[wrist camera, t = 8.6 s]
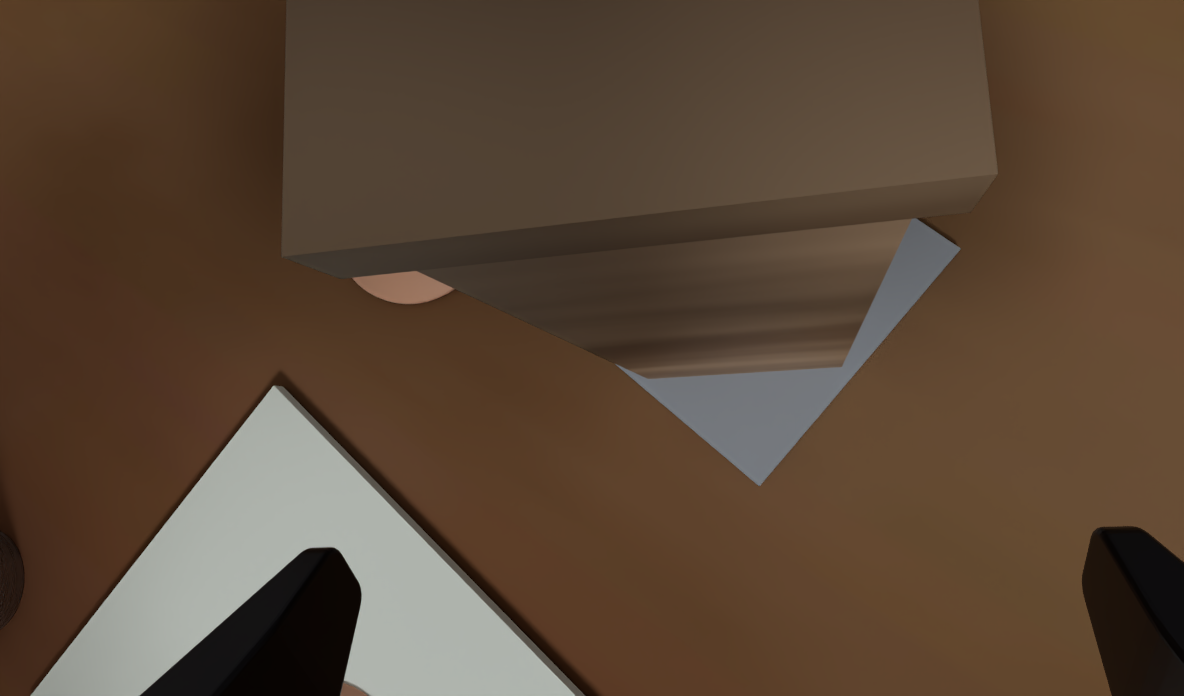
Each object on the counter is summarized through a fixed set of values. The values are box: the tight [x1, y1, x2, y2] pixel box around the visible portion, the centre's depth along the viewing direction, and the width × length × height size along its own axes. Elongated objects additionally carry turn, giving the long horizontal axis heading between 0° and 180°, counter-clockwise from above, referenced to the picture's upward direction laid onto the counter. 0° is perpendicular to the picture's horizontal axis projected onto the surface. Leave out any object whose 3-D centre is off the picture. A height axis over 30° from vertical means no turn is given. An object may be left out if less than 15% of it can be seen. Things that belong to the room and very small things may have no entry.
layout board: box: [31, 218, 961, 696], centre depth 20 cm, size 26×16×1 cm, turn 139°
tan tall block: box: [281, 0, 998, 379], centre depth 12 cm, size 5×5×14 cm
